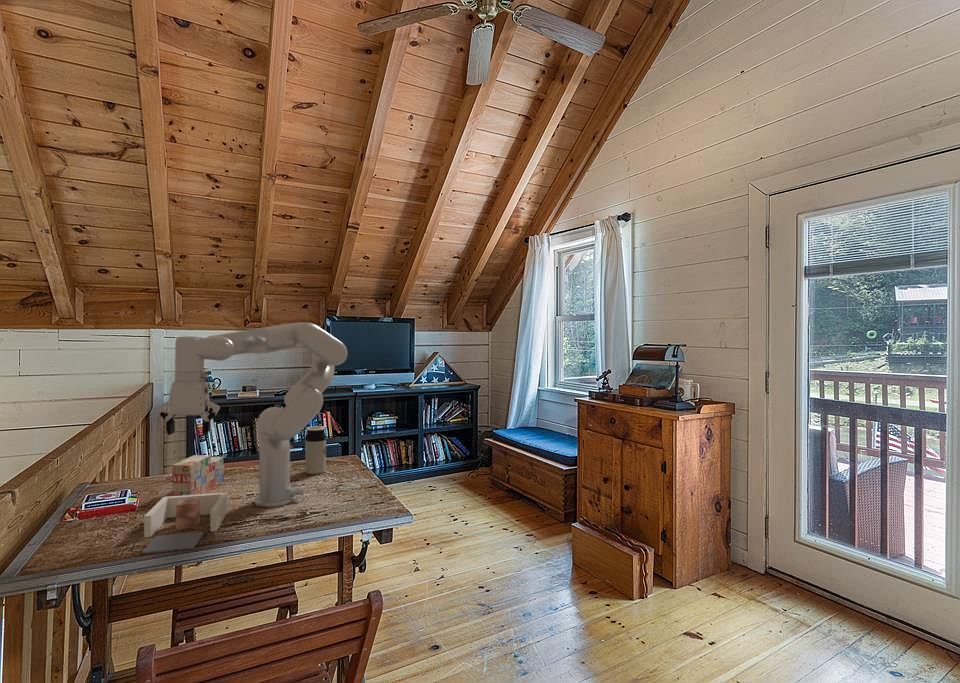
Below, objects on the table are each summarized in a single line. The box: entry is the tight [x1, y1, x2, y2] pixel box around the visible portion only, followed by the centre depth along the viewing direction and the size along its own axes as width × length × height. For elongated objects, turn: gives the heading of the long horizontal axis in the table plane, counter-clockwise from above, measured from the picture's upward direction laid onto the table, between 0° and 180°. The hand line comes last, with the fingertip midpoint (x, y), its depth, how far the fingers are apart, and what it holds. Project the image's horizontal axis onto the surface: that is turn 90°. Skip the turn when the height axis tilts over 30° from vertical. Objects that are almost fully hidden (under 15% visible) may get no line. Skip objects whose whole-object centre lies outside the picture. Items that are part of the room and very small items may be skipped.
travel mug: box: [304, 425, 327, 475], centre depth 199 cm, size 8×8×18 cm
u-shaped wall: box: [143, 492, 229, 538], centre depth 146 cm, size 18×16×6 cm
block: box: [175, 498, 201, 530], centre depth 145 cm, size 5×5×7 cm
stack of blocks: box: [171, 454, 225, 496], centre depth 175 cm, size 21×6×12 cm, turn 179°
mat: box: [141, 531, 205, 555], centre depth 133 cm, size 12×10×1 cm
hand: (188, 433), depth 148 cm, fingers open, 9 cm apart
